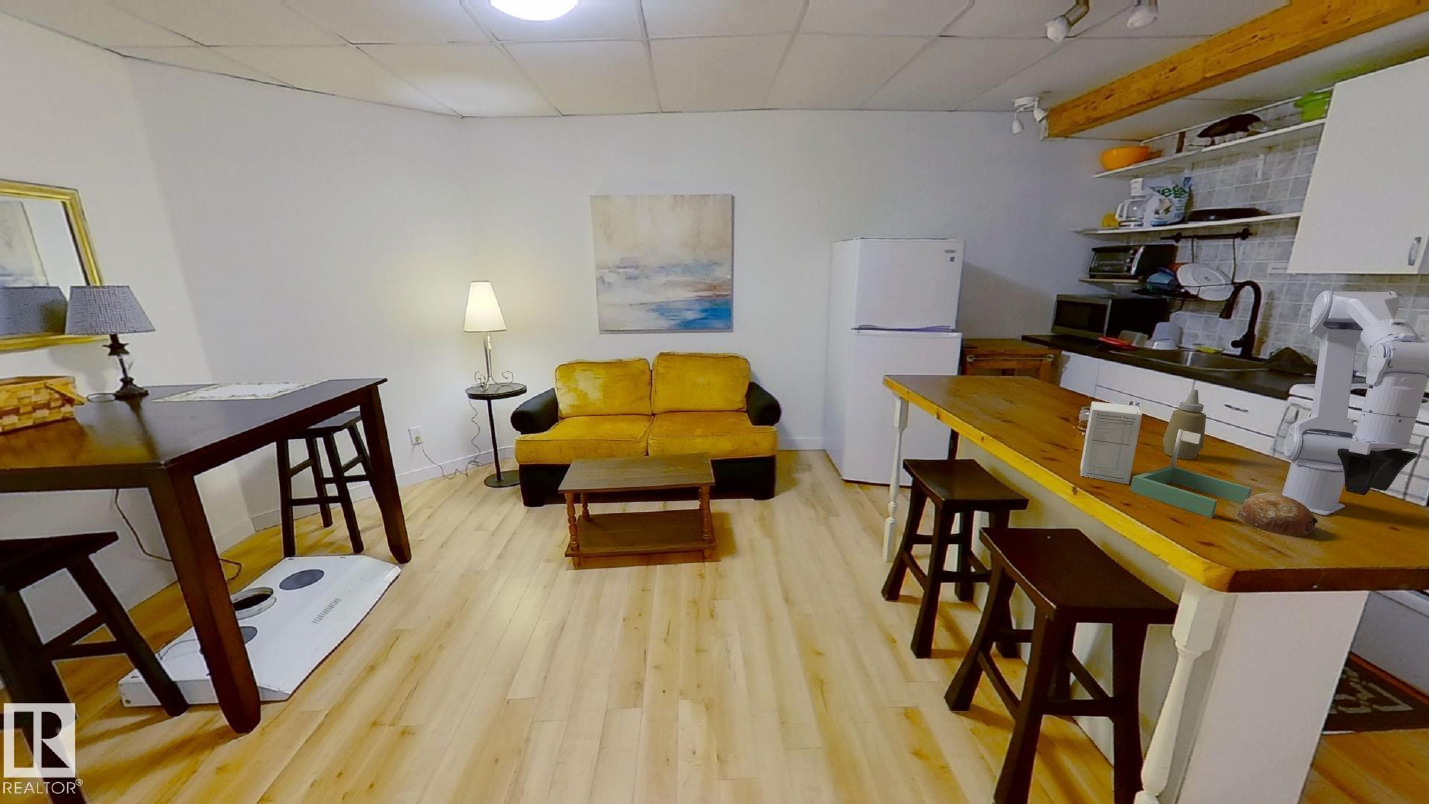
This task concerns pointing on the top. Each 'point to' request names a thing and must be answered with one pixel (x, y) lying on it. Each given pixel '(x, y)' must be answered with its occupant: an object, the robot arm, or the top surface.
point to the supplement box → (1110, 442)
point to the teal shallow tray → (1187, 484)
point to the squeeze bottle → (1186, 427)
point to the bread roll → (1277, 514)
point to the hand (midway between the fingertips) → (1366, 491)
